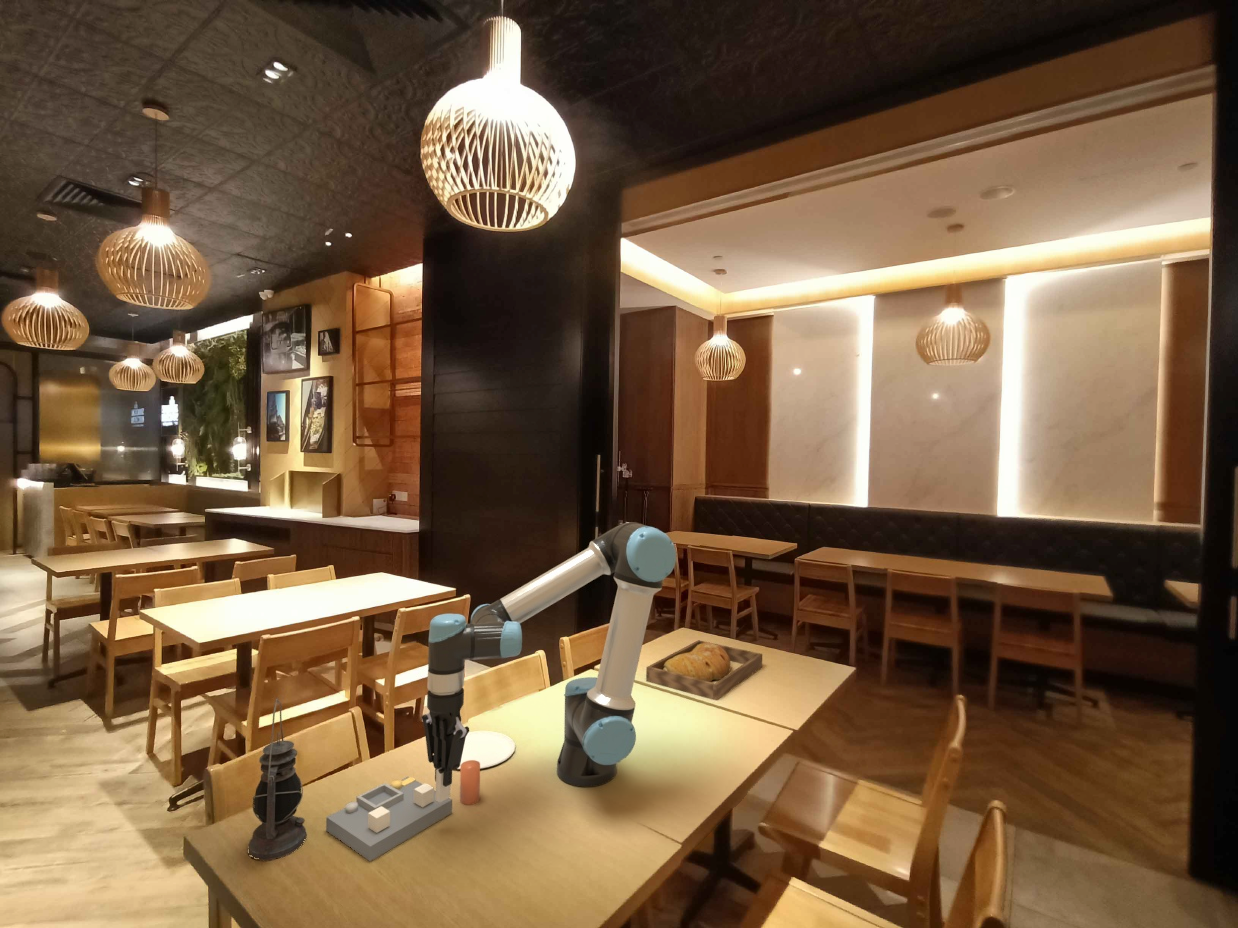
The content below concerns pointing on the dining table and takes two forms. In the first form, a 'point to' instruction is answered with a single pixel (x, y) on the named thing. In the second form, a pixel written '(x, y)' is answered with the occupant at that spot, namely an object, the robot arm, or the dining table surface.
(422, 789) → the toggle
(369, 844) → the grey flat block
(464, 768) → the cap
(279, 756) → the lantern
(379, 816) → the toggle
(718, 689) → the bread tray
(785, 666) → the dining table surface
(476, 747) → the plate
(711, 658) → the bread
